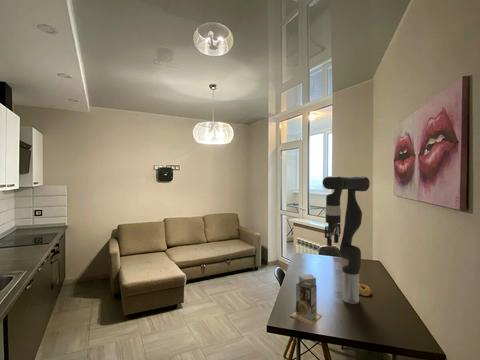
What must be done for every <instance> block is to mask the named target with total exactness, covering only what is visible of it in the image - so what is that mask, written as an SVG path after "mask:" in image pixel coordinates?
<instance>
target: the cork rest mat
mask: <svg viewBox="0 0 480 360" xmlns="http://www.w3.org/2000/svg"><path fill="white" fill-rule="evenodd" d="M322 316H323V315H322V314H320V313H318V312H317V316H316V317H315V318H313V319H312V320H310V319H307V318H305V317H302V316H299V315H297V314H296V311H294V312H293V313H291V314H289V317H290V318H293V319H295V320H297V321H300V322H302V323H303V324H307V325H309V326H312V325H313V324H315V323H316V322H317V321H318V320H319V319H321V318H322Z"/></svg>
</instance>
